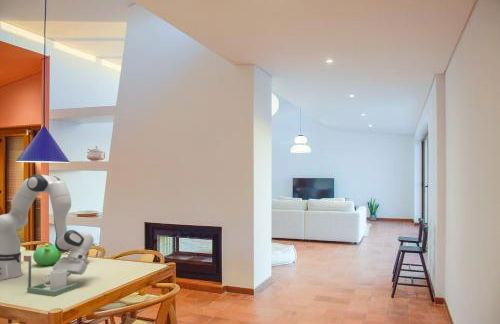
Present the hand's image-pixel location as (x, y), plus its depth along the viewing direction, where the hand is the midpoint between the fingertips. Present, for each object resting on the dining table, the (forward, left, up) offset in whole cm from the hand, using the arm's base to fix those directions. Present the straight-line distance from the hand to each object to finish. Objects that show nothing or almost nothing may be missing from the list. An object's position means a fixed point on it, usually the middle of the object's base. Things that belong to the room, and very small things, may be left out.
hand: (62, 279), depth 228 cm
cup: (-3, -5, -5) cm, 7 cm away
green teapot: (-25, +58, -5) cm, 63 cm away
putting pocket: (-5, -4, -4) cm, 8 cm away
